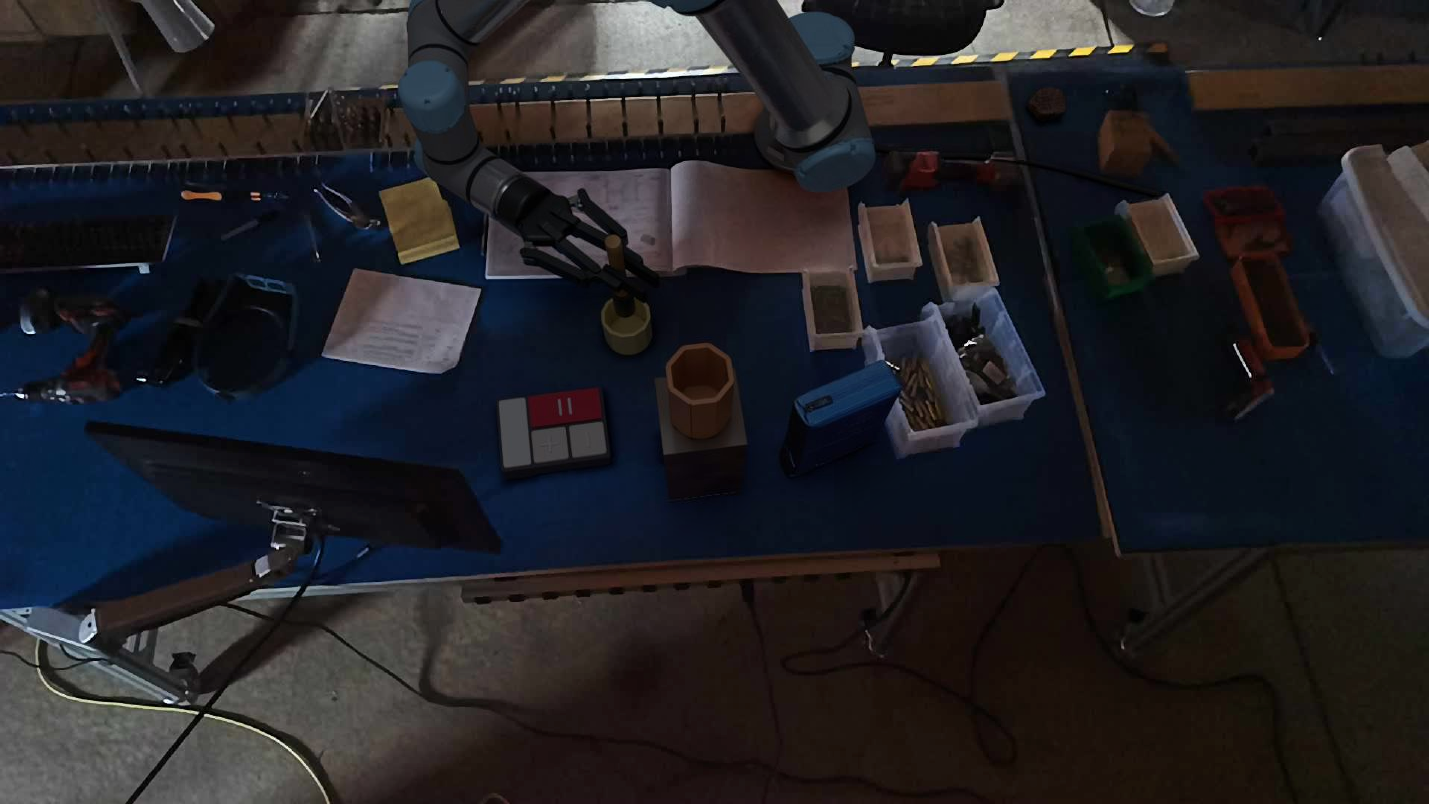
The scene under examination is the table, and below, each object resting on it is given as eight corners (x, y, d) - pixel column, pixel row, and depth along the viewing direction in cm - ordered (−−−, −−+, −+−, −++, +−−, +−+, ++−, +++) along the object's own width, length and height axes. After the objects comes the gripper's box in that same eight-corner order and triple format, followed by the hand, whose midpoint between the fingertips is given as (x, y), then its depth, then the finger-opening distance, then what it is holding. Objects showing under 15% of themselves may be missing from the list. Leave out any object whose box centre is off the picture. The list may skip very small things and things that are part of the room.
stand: (730, 427, 122) (735, 368, 103) (740, 493, 118) (747, 444, 100) (661, 436, 121) (654, 378, 103) (669, 503, 117) (663, 455, 99)
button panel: (610, 455, 116) (499, 470, 114) (612, 465, 120) (505, 480, 118) (601, 383, 120) (494, 396, 118) (603, 395, 124) (499, 408, 122)
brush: (634, 298, 121) (623, 229, 105) (636, 316, 120) (626, 250, 104) (613, 300, 121) (599, 232, 105) (615, 319, 120) (601, 252, 104)
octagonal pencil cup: (725, 379, 103) (728, 339, 93) (734, 434, 100) (737, 399, 90) (666, 387, 102) (663, 347, 93) (673, 442, 100) (670, 407, 90)
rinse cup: (649, 311, 129) (647, 291, 124) (654, 352, 126) (652, 333, 121) (603, 316, 129) (599, 296, 123) (607, 357, 126) (603, 339, 120)
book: (789, 485, 119) (805, 434, 100) (772, 452, 120) (784, 396, 102) (878, 444, 121) (909, 387, 103) (860, 413, 123) (887, 352, 105)
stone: (1027, 126, 144) (1034, 113, 141) (1019, 93, 147) (1026, 80, 144) (1065, 125, 144) (1073, 112, 141) (1056, 93, 147) (1064, 79, 144)
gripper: (554, 180, 120) (686, 264, 115) (482, 253, 115) (617, 344, 110) (545, 145, 113) (685, 232, 108) (468, 220, 108) (611, 316, 103)
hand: (651, 288), depth 109 cm, fingers closed on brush, 2 cm apart
